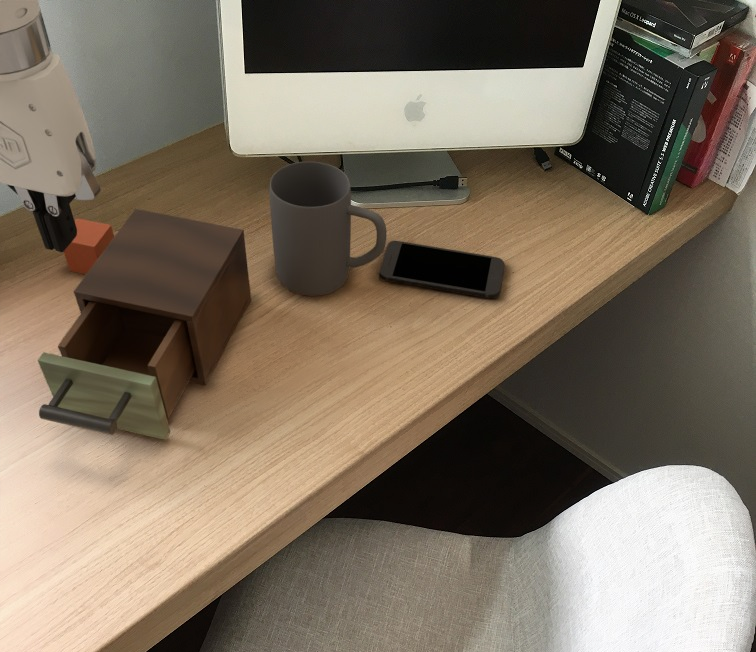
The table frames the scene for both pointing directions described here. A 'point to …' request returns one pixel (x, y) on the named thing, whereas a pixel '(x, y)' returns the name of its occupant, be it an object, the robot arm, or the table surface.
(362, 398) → the table surface
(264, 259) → the table surface
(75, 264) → the block
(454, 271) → the smartphone
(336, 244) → the mug
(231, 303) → the cabinet
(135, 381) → the drawer
